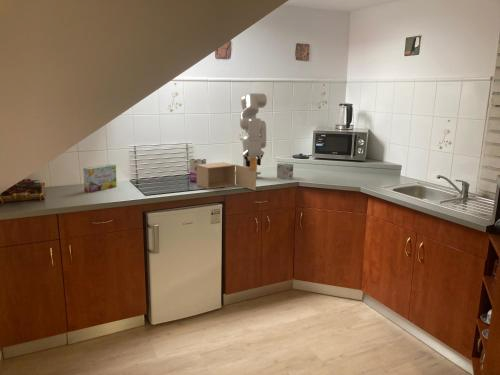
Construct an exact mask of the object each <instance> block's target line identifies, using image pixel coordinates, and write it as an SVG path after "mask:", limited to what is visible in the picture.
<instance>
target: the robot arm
mask: <svg viewBox="0 0 500 375" xmlns="http://www.w3.org/2000/svg"><path fill="white" fill-rule="evenodd" d="M267 101H268V98H267V95H266V94H265V93H257V92H256V93H255V92H254V93H248V94H247V95H244V96H241V99H240V102H241V103H240V105H241V108H242V111H241V113H240V116H239V126H240V128H241V129H242V130H244V132H245V133H246V134H247V135H245V136H243V138H242V142H241V143H242V148H243V149H242V151H243V153H242V157H243V159H242V160H243V162H242V166H244V167H248V168H249V167H250V158H251V157H252V158H257V166H261V164H262V158H263V157H264V155H265V152H264V150H262V149H265V148H266V147H267V124H266V121H264V120H262V119H261V118H258V117H257V114H258V113H259V110H260V109H261V108H262V109H263V108H265V107H266V106H267V103H268V102H267ZM258 175H262V172H261V171H256V180H257V179H258V178H259V176H258Z"/></svg>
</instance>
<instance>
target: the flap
mask: <svg viewBox="0 0 500 375" xmlns="http://www.w3.org/2000/svg"><path fill="white" fill-rule="evenodd" d="M257 159H258V158H257V157H256V158H252V157H251V158H250V167H249V168H248V167H244V166H243V165H239V164H235V186H239V187H242V188H246V189H249V190H253V191H257V179H256V172H258V165H257Z"/></svg>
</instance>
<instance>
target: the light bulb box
mask: <svg viewBox="0 0 500 375" xmlns="http://www.w3.org/2000/svg"><path fill="white" fill-rule="evenodd" d="M277 177H278V178H277ZM276 178H277V179H282V178H285V179H284V180H292V179H293V178H294V163H293V164H292V163H286V162H285V163H284V162H283V163H282V162H280V163H277V166H276ZM291 178H292V179H291Z"/></svg>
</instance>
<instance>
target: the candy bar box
mask: <svg viewBox="0 0 500 375" xmlns="http://www.w3.org/2000/svg"><path fill="white" fill-rule="evenodd" d="M200 164H207V158H198V157H197V158H196V157H191V158H189V181H190V182H192V183H197V165H200Z"/></svg>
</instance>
